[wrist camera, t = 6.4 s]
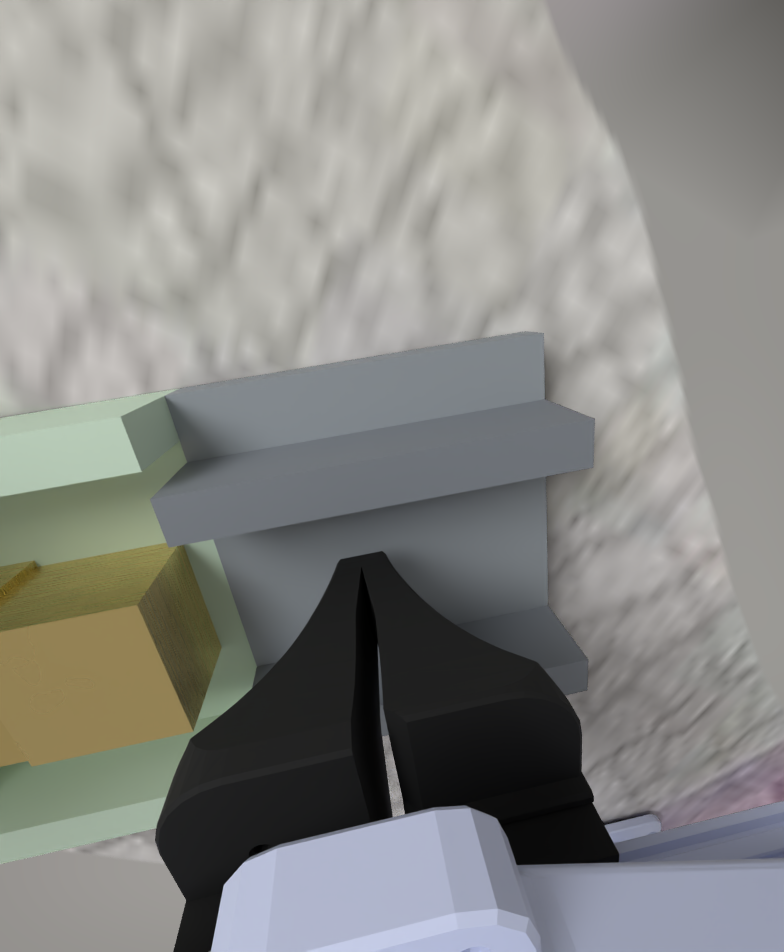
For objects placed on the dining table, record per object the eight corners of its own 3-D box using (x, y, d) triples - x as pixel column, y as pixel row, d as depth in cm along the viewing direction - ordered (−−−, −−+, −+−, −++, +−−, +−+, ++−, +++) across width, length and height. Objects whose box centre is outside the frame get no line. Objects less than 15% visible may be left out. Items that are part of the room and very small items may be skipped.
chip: (221, 647, 14) (193, 731, 11) (94, 673, 14) (31, 766, 11) (181, 539, 12) (137, 604, 10) (37, 566, 12) (-52, 642, 9)
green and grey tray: (534, 648, 17) (586, 732, 14) (-6, 764, 16) (-102, 891, 12) (525, 331, 13) (597, 336, 9) (-226, 455, 11) (-472, 516, 8)
